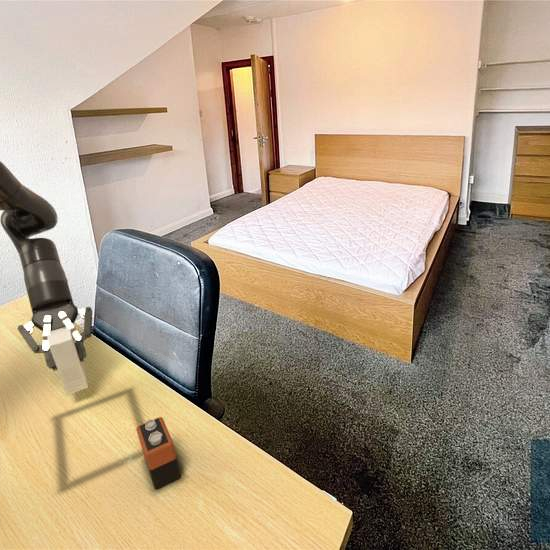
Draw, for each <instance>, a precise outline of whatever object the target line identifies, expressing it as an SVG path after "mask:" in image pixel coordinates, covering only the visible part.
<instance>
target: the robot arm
mask: <svg viewBox="0 0 550 550" xmlns="http://www.w3.org/2000/svg"><path fill="white" fill-rule="evenodd" d="M0 211H2V212H1V215H0V225H1V227H2V229H3V231H4V232H5V234H6V235H7V236H8V238H9V239H10V241H11V242H12V244H13V246H14V247H15V250H16V251H17V253H18V256H19V260H20V264H21V267H22V271H23V279H24V285H25V289H26V293H27V297H28V301H29V304H30V309H31V313H32V315H31V316H32V317H31V321H29V322H27V323H26V324H24V325H23V324H19V325H18V326H17V331H18V332H19V334H20V335H21V337H22V338H23V339H24V341H25V343H26V344H27V345H28V347H29V348H30V349H31V351H32V352H33V353H34V354H43V355H44V359H45V363H46V366H47V368H49V370H52V371H53V372H55V371H58V369H57V367H56V364H55V361H54V359H53V356H52V353H51V350H50V348H49V343H48V338H47V335H48V334H50V332H51V331H53V330H56V329H60V328H64V327H67V328H68V329H70V330H71V333H72V336H73V339H74V342H75V346H76V349H77V353H78V356H79V359H80V362H81V363H83V362H85V358H87V350H86V347H85V345H84V342H85V341H86V340H88V339H90V338H91V337H92V332H93V314H94V313H93V309H92V307H90V306H86V307H85V308H78V306H76V305H75V303H74V300H73V297H72V292H71V290H70V287H69V281H68V278H67V276H66V272H65V270H64V268H63V265H62V263H61V260H60V259H61V258H60V256H59V252H58V249H57V246H56V243H55V242H54V241H53V240H52V239H50V238H47V237H34V238H30V237H33V236H36V235H40V234H43V233H45V232H48V231H51V230H53V229H54V228H55V227H57V225H58V219H59V218H58V214H57V211H56V209H55V208H54V207H53V205H52V204H51V203H50V202H49V201H48V200H46V199H45V198H44V197H42V196H41V195H39V194H37V193H36V192H34V191H33V190H32V189H30V188H28V187H27V186H26V185H24V184H23V183H21V181H20V180H18V178H17V177H16V176H15V174H13V172H12V171H11V170H10V169H9V168H8V167H7V166H6V165H5V164H4V163H3V162H2V161H1V160H0ZM79 315H80V317H81V319H82V320H83V331H82V332H81V333H80V332H79V331H78V329H77V328H76V326H75V322H76V320H77V318H78V317H79ZM34 327H35V328H37V329H38V330H40V331H42V344H38V343H37V342H36V340H35V339H34V338H33V336H32V335H33V334H34Z"/></svg>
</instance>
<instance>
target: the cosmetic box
mask: <svg viewBox="0 0 550 550" xmlns="http://www.w3.org/2000/svg"><path fill="white" fill-rule="evenodd" d="M47 338H48V343H49V348H50V350H51V353H52V356H53V359H54V361H55V364H56V367H57V369H58V370H57V372H58V375H59V377H60V378H59V379H60V380H61V383H62V385H63V387H64V391H65V393H66V395H67V396H69V395H72V394H74V393H77V392H80V391H82V390H86V389H88V388H89V382H88V378H87V375H86V372H85V369H84V365H83V362H80V359H79V356H78V353H77V349H76V346H75V343H76V341H75V339H74V338H73V336H72V333H71V330H70V329H68V328H67V327H64V328H60V329H56V330H53V331H51V332H50V334H48V335H47Z"/></svg>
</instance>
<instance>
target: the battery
mask: <svg viewBox="0 0 550 550" xmlns="http://www.w3.org/2000/svg"><path fill="white" fill-rule="evenodd" d="M136 432H137V433H136V434H137V436H138V440H139V444H140V446H141V450H142V454H143V457H144V461H145V464H146V467H147V470H148V474H149V476H150V479H151V483H152V486H153V488H154V490H156V491H158V490H160V489H163V488H165V487H167V486H168V485H171V484H173V483H175V482H177V481H179V480H180V479H182V474H181V470H180V466H179V461H178V457H177V454H176V449H175V446H174V441H173V438H172V437H171V434H170V432H169V430H168V427H167V425H166V422H165V420H164V418H163V417H162V416H159V417H157V418H154V419H148V420H147V421H145V422H144V423H142V424H140V425H137V426H136Z"/></svg>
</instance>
